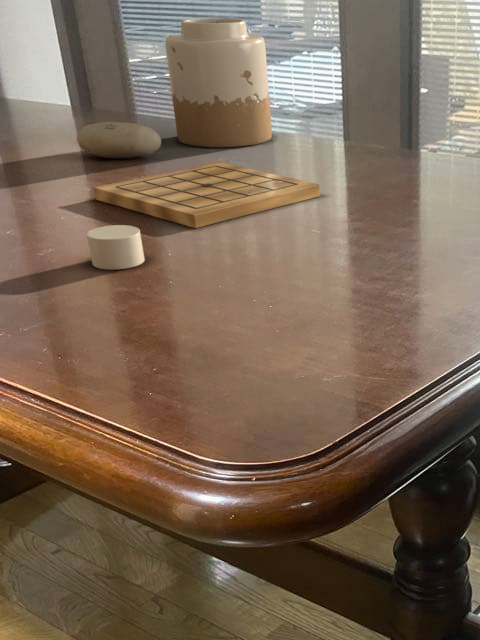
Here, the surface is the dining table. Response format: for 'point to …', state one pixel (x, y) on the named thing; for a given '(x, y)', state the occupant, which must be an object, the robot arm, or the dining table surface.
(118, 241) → the cylinder
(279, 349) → the dining table surface
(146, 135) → the stone
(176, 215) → the board
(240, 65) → the vase
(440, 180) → the dining table surface
